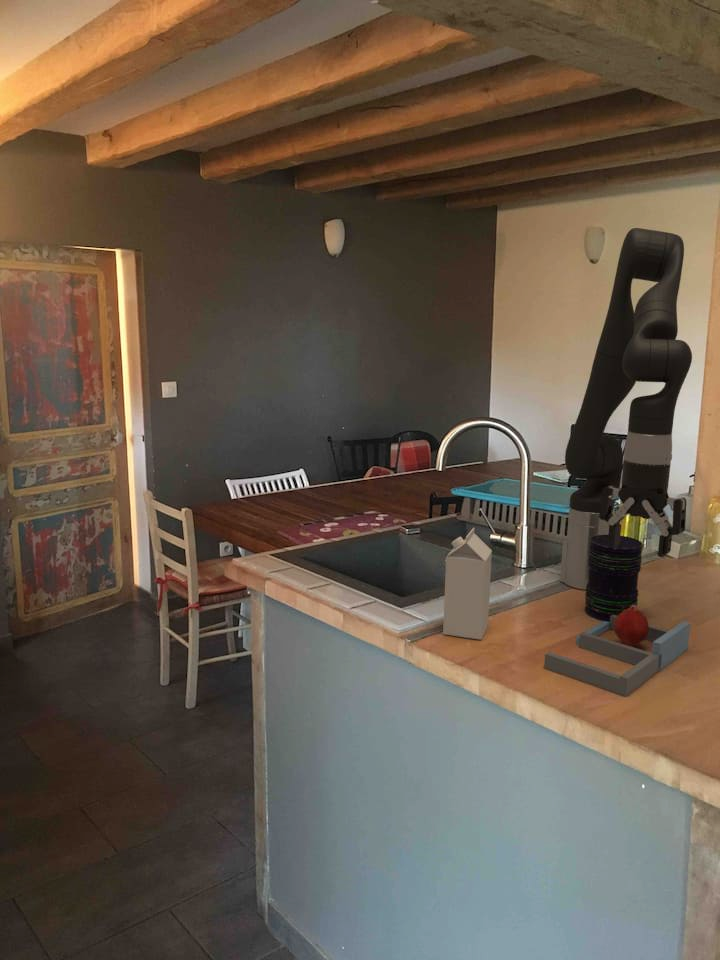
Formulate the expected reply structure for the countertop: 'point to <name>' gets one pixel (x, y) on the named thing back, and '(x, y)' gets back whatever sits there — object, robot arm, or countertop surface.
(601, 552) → the storage jar
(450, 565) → the milk carton
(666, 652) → the channel organiser
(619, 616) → the pomegranate
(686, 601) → the countertop surface
